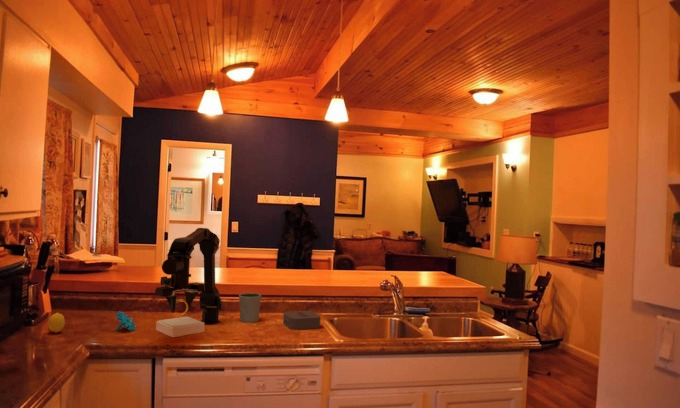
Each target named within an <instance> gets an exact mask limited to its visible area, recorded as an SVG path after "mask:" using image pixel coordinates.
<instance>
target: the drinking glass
mask: <svg viewBox="0 0 680 408" xmlns="http://www.w3.org/2000/svg"><path fill="white" fill-rule="evenodd" d="M261 299H262V294H261V293H257V292H244V293H240V294H238V301H239V320H240V322H242V323H246V324H247V323H249V324H251V323H257V322H259V320H260V310H261V309H260V308H261V301H262V300H261Z"/></svg>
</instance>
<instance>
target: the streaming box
mask: <svg viewBox="0 0 680 408" xmlns="http://www.w3.org/2000/svg"><path fill="white" fill-rule="evenodd" d="M282 323H283V325H285V326H286V327H287V328H288V330H289V329H290V330H293V331H294V330H295V331H297V330H310V329H311V330H312V329H320V328H321V315H320V314H318V313H316V312H314V311H312V310H300V311H299V310H296V311H295V310H293V311H284V312H283V321H282Z"/></svg>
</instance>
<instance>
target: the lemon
mask: <svg viewBox="0 0 680 408" xmlns="http://www.w3.org/2000/svg"><path fill="white" fill-rule="evenodd" d="M65 323H66V321H65V316H64V315H63V314H62V313H59V312H56V313H53V314H52V315H51V316H50V317H49V319H48V323H47V324H48V325H47V326H48V328H49V330H50V331H51V332H53V333H55V334H58V332H59V331H62V330H63V328H64V327H65Z"/></svg>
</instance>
